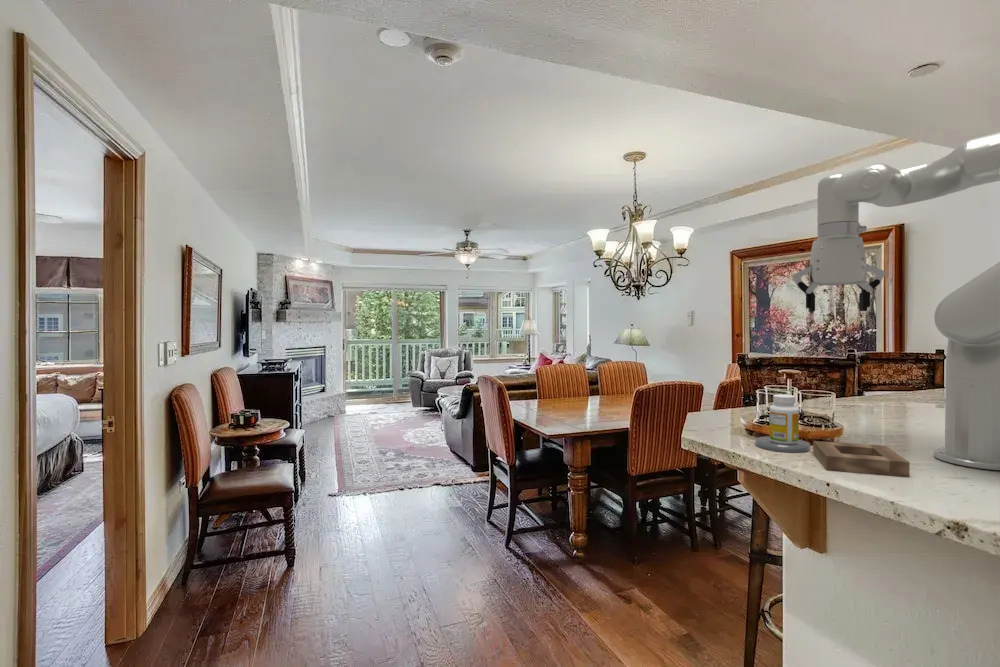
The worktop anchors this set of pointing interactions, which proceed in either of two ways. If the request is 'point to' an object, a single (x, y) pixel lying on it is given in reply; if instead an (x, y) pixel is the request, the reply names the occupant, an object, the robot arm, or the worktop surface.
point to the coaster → (782, 445)
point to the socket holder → (860, 458)
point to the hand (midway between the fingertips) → (837, 311)
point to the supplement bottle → (784, 420)
